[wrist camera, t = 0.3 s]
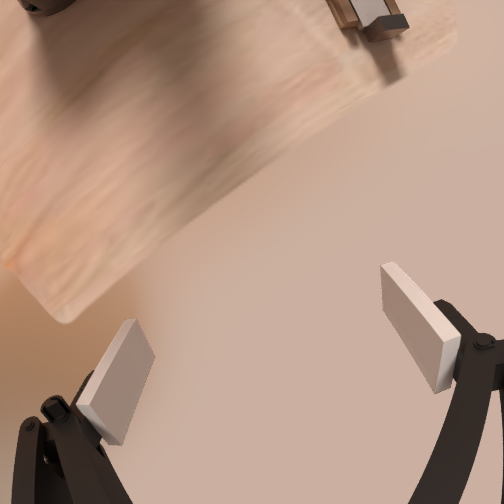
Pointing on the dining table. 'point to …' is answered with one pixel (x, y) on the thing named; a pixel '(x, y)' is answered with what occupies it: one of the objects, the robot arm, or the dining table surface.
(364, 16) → the grey sliding carriage
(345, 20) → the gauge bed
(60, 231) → the dining table surface
